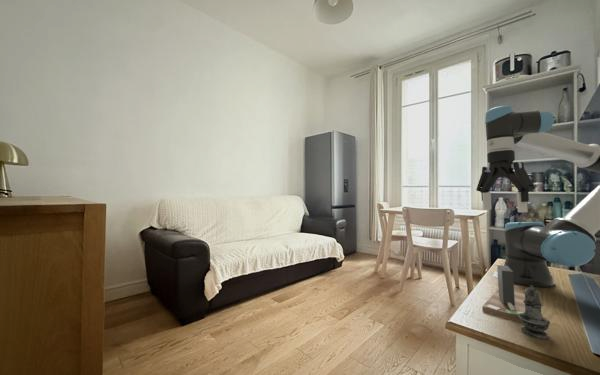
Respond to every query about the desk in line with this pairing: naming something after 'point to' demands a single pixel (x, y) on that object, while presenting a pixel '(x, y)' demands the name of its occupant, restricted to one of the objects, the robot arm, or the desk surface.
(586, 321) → the desk surface
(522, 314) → the dark grey chess piece
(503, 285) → the grey block
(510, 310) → the dial marks
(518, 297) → the board
